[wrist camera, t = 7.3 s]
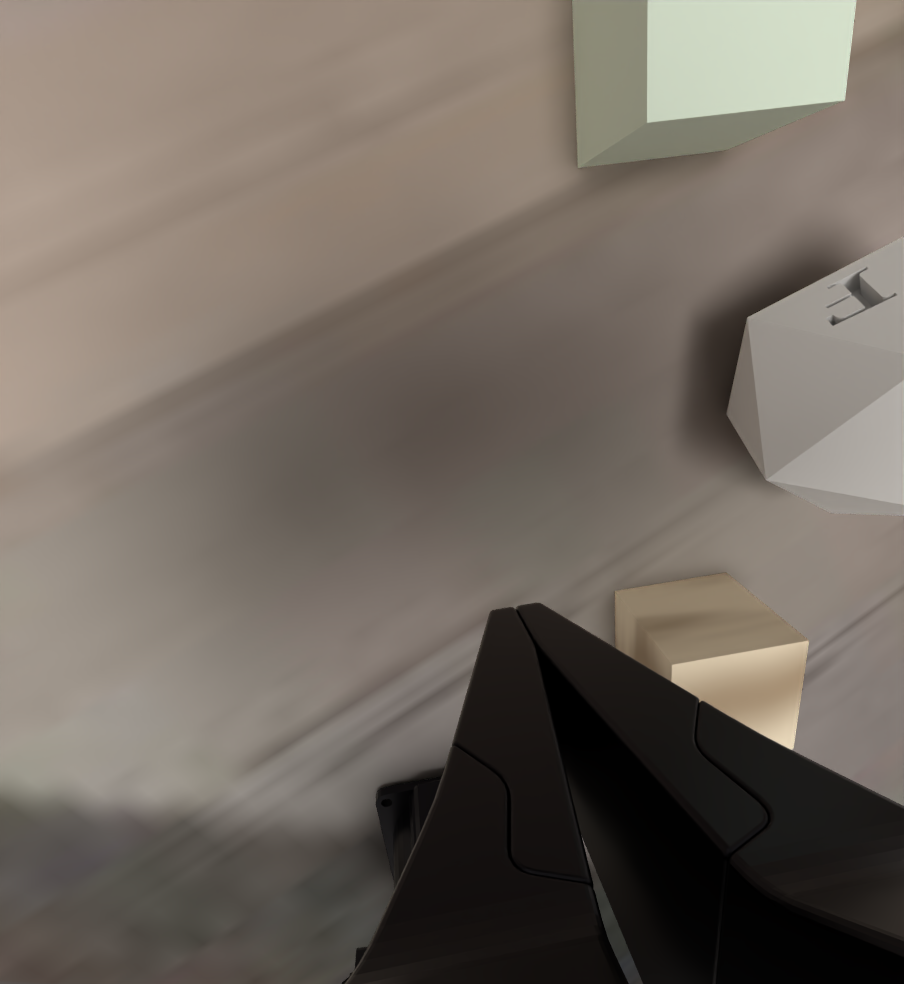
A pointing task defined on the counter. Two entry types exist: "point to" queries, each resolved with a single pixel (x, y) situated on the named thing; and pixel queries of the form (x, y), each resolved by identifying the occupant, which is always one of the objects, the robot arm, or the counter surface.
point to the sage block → (701, 72)
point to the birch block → (718, 648)
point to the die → (829, 388)
